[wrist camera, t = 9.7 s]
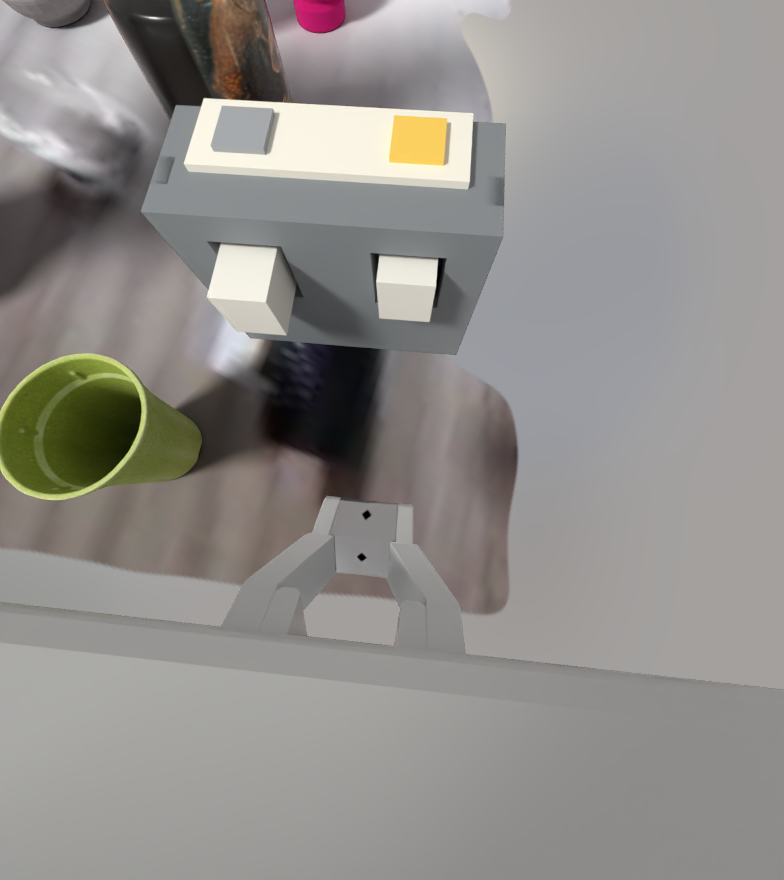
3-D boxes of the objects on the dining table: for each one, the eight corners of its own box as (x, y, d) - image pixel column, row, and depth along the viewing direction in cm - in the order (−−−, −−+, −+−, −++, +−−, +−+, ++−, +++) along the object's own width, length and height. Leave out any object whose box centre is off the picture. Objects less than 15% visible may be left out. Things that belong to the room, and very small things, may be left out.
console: (456, 355, 29) (508, 224, 16) (250, 338, 30) (129, 199, 16) (460, 282, 31) (510, 108, 17) (265, 267, 31) (167, 89, 18)
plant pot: (242, 453, 27) (173, 429, 19) (152, 524, 26) (34, 533, 18) (186, 379, 29) (99, 326, 20) (98, 442, 28) (-34, 414, 19)
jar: (200, 209, 33) (44, -28, 18) (203, 128, 35) (67, -138, 21) (308, 198, 33) (239, -46, 18) (303, 118, 36) (239, -153, 21)
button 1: (286, 335, 22) (265, 302, 18) (237, 331, 22) (206, 297, 18) (298, 275, 23) (280, 232, 19) (250, 271, 23) (224, 228, 19)
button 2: (429, 322, 22) (436, 286, 18) (379, 318, 22) (376, 282, 18) (434, 262, 23) (441, 218, 19) (386, 259, 23) (384, 214, 19)
